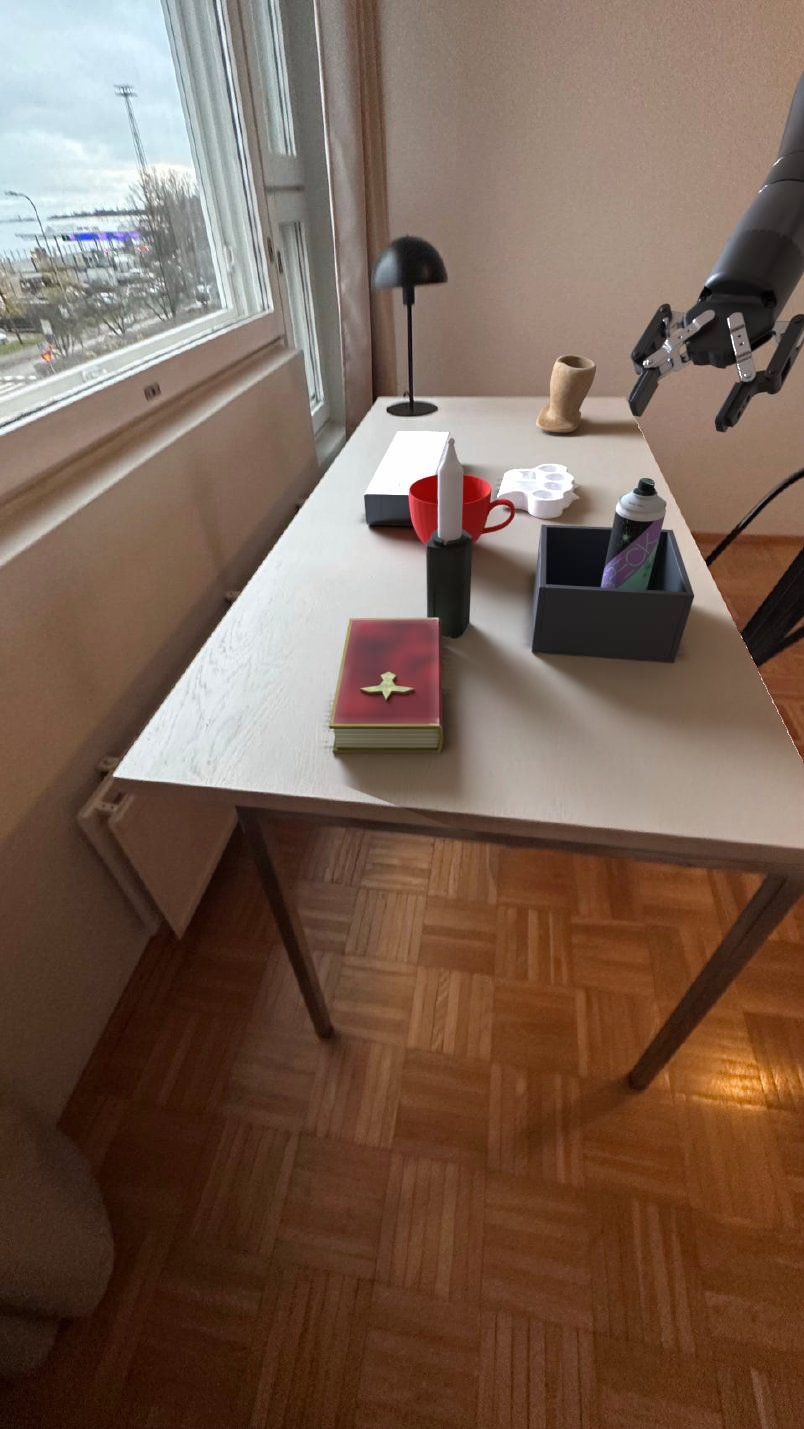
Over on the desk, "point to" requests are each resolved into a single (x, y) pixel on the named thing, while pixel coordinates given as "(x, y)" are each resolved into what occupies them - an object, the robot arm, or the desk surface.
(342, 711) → the hardcover book
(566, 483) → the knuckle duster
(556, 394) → the stone cup
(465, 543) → the candle
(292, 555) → the desk surface
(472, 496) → the ceramic cup
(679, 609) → the bin
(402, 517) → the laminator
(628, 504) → the spray can
